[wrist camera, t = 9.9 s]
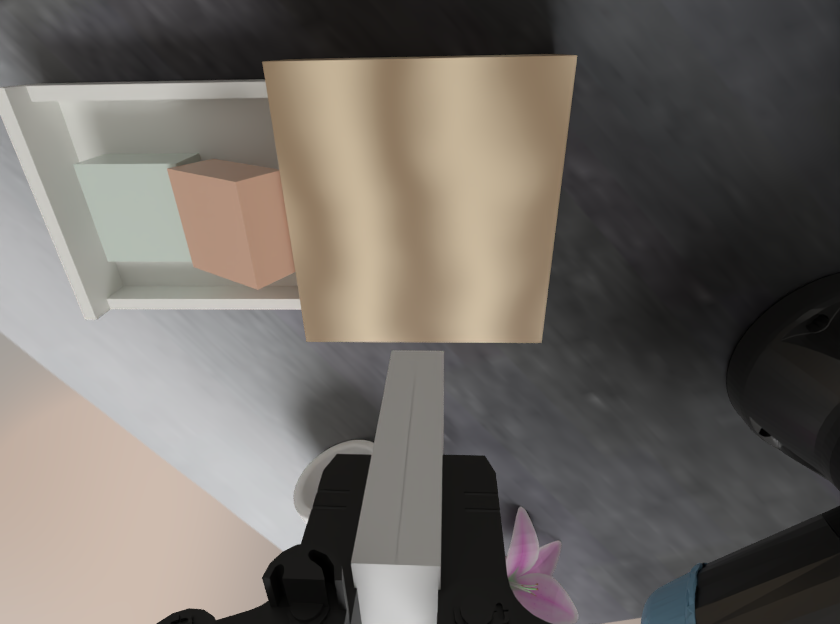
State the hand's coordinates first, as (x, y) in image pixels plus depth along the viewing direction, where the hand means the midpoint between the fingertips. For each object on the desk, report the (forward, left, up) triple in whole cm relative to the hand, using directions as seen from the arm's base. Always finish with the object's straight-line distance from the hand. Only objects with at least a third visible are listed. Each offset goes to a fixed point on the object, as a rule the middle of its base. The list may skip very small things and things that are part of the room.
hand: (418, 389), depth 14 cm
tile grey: (+17, 0, -16) cm, 24 cm away
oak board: (0, 0, -19) cm, 19 cm away
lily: (-8, +35, -20) cm, 41 cm away
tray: (+15, 0, -19) cm, 25 cm away
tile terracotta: (+10, 0, -16) cm, 19 cm away
